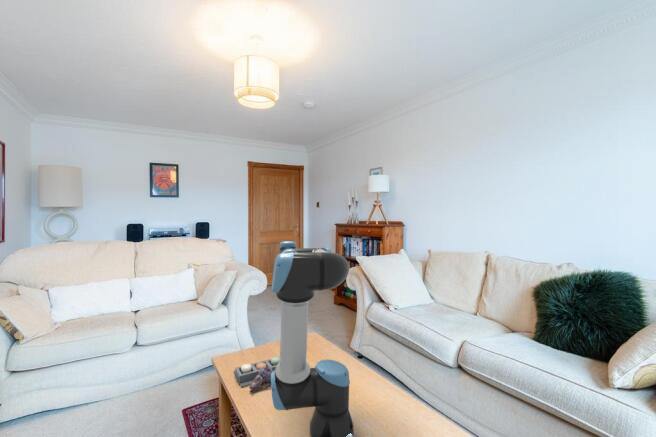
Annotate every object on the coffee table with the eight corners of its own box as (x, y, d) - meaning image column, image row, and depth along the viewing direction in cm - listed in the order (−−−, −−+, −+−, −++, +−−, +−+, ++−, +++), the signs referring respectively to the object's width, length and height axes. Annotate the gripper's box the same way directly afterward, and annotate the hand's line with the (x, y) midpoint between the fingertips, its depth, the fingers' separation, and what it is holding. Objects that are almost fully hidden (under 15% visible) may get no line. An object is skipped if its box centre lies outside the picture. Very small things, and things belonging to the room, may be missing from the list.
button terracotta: (267, 371, 141) (267, 366, 141) (258, 373, 138) (258, 368, 138) (264, 366, 144) (264, 361, 144) (255, 369, 142) (255, 364, 142)
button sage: (281, 364, 144) (281, 359, 144) (272, 367, 142) (272, 362, 142) (278, 360, 148) (278, 355, 148) (269, 362, 146) (269, 358, 146)
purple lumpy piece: (254, 396, 125) (254, 382, 124) (243, 386, 130) (244, 373, 129) (277, 382, 134) (277, 370, 133) (266, 374, 139) (267, 362, 138)
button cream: (252, 372, 137) (252, 367, 137) (242, 375, 135) (242, 369, 135) (249, 368, 141) (249, 363, 141) (240, 370, 139) (240, 365, 139)
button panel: (289, 374, 141) (289, 366, 141) (241, 387, 130) (241, 379, 130) (278, 360, 153) (278, 353, 153) (233, 372, 142) (233, 364, 142)
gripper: (301, 276, 138) (300, 328, 138) (288, 271, 149) (288, 319, 149) (286, 278, 134) (285, 331, 134) (274, 272, 145) (274, 322, 145)
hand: (287, 324), depth 142 cm, fingers closed
